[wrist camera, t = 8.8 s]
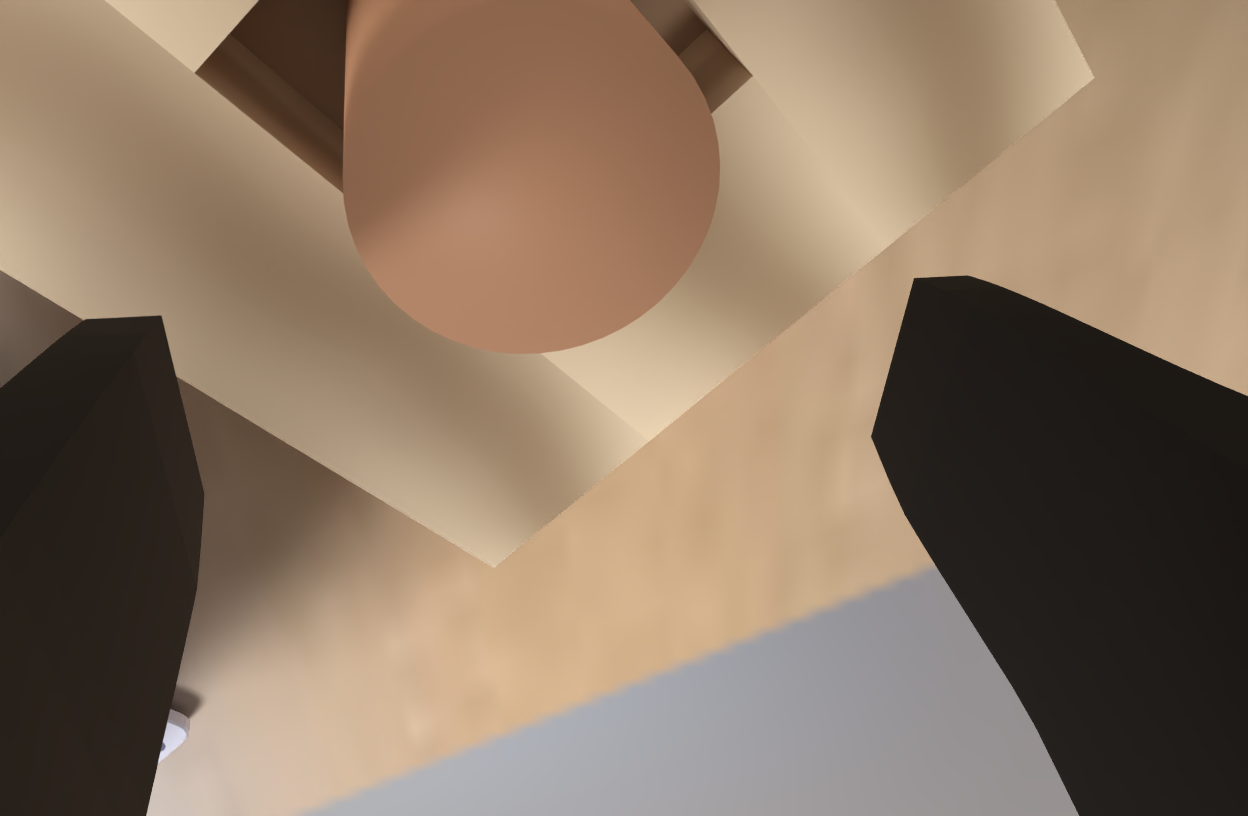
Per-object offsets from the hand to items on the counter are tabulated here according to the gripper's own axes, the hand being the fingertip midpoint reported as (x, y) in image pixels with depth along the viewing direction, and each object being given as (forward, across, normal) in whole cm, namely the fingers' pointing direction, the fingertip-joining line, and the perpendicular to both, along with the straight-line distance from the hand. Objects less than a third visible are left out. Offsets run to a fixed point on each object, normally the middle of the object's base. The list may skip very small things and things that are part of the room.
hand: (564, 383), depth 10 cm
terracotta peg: (+9, 0, -1) cm, 9 cm away
